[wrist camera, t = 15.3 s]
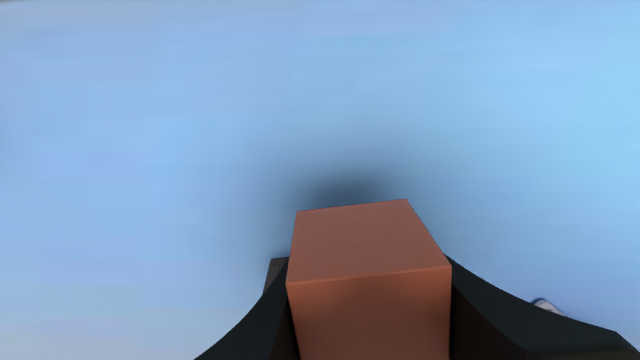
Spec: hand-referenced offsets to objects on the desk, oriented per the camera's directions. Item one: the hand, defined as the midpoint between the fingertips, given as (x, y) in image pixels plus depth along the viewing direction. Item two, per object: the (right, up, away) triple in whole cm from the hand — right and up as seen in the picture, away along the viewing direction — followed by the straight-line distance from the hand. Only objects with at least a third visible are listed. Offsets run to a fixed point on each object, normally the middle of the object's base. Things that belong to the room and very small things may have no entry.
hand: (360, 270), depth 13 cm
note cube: (0, +1, +1) cm, 1 cm away
